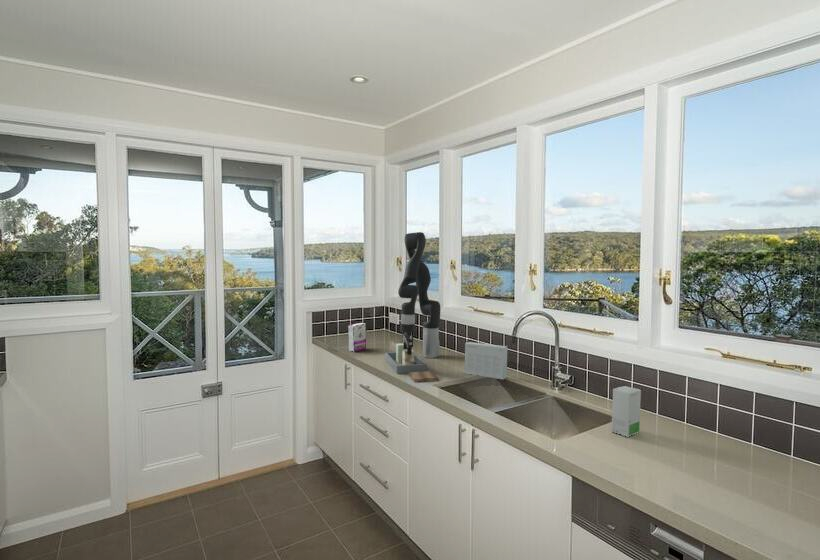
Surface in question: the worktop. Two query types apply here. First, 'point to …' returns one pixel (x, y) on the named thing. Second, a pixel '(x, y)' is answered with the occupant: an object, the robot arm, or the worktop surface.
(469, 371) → the skincare box
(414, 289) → the robot arm
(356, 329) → the candy bar box
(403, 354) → the birch block
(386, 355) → the grey bin
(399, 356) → the sage block
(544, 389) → the worktop surface
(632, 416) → the skincare box
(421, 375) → the walnut board
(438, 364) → the worktop surface
